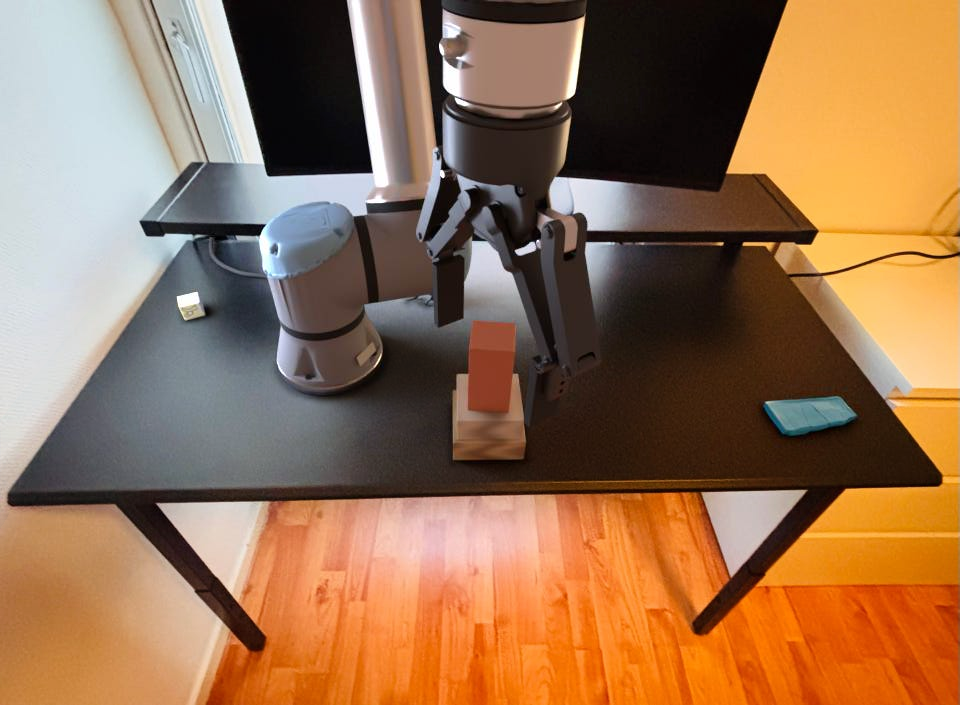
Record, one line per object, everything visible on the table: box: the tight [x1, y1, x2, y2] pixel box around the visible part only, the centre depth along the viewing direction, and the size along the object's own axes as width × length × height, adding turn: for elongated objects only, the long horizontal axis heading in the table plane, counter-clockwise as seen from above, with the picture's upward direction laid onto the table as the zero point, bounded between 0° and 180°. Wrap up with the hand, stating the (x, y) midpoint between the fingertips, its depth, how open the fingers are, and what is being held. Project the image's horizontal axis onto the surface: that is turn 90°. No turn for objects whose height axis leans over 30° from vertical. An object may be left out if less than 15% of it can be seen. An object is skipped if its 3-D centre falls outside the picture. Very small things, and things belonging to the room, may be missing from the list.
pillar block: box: [468, 319, 517, 413], centre depth 63 cm, size 5×5×10 cm
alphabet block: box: [176, 291, 206, 321], centre depth 86 cm, size 3×3×3 cm
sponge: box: [763, 396, 858, 437], centre depth 74 cm, size 2×12×6 cm
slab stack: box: [452, 373, 527, 461], centre depth 69 cm, size 9×9×7 cm
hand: (490, 365), depth 45 cm, fingers open, 13 cm apart
